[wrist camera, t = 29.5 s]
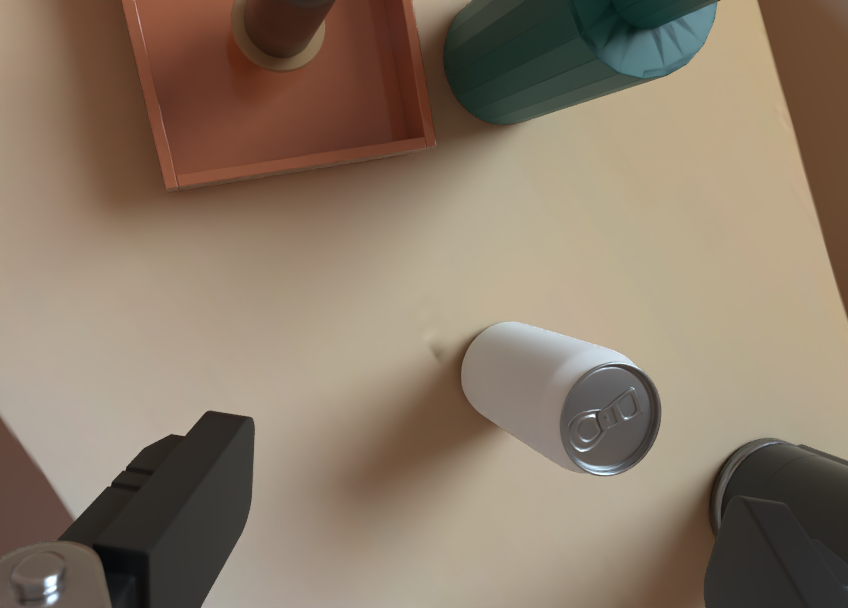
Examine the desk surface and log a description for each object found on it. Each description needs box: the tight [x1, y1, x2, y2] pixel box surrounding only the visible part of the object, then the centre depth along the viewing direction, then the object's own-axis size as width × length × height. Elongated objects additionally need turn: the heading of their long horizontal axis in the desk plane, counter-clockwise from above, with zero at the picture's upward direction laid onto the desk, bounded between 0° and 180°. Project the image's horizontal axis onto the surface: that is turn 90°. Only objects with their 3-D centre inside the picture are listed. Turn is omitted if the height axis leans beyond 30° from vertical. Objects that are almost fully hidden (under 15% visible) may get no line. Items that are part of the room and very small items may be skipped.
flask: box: [444, 0, 720, 125], centre depth 33 cm, size 8×8×18 cm
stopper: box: [231, 0, 336, 73], centre depth 31 cm, size 5×5×13 cm
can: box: [461, 322, 661, 476], centre depth 38 cm, size 6×6×12 cm
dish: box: [121, 0, 436, 192], centre depth 36 cm, size 14×14×4 cm
